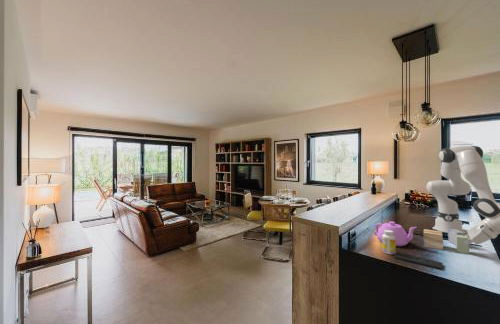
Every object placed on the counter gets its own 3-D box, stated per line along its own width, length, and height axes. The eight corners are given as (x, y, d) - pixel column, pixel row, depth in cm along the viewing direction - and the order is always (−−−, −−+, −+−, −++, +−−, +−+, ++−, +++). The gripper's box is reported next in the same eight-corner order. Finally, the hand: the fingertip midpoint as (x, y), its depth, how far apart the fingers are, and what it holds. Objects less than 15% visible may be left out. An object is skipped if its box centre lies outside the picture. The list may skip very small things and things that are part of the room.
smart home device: (441, 267, 106) (393, 256, 120) (441, 271, 106) (393, 259, 120) (442, 262, 112) (396, 251, 126) (442, 265, 112) (396, 254, 126)
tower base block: (424, 242, 143) (424, 235, 143) (442, 245, 137) (442, 238, 137) (424, 246, 136) (423, 239, 136) (443, 250, 130) (443, 242, 130)
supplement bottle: (396, 252, 128) (396, 230, 128) (394, 256, 123) (394, 233, 123) (383, 249, 132) (383, 228, 132) (381, 252, 127) (380, 231, 127)
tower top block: (424, 235, 143) (423, 229, 143) (442, 238, 137) (441, 231, 137) (423, 239, 136) (423, 232, 136) (442, 242, 131) (442, 235, 131)
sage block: (456, 249, 131) (456, 234, 131) (468, 251, 128) (467, 236, 128) (457, 251, 127) (456, 236, 127) (469, 254, 124) (468, 238, 124)
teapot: (369, 240, 148) (368, 220, 148) (379, 235, 159) (378, 216, 159) (413, 252, 128) (412, 229, 128) (421, 244, 139) (421, 223, 139)
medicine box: (465, 246, 135) (465, 232, 135) (457, 246, 136) (456, 232, 136) (456, 242, 143) (455, 229, 143) (448, 241, 144) (447, 228, 144)
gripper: (478, 220, 130) (456, 233, 137) (484, 228, 115) (459, 242, 121) (490, 228, 127) (467, 241, 134) (497, 238, 112) (470, 252, 118)
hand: (463, 241), depth 127 cm, fingers closed on sage block, 5 cm apart
